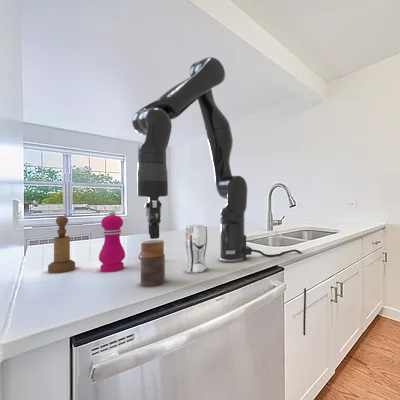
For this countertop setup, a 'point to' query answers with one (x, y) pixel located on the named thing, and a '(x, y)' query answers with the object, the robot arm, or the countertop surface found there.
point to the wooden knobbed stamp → (61, 250)
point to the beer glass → (196, 247)
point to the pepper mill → (112, 244)
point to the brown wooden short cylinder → (152, 248)
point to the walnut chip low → (152, 278)
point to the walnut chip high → (153, 264)
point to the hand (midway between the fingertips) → (153, 236)
